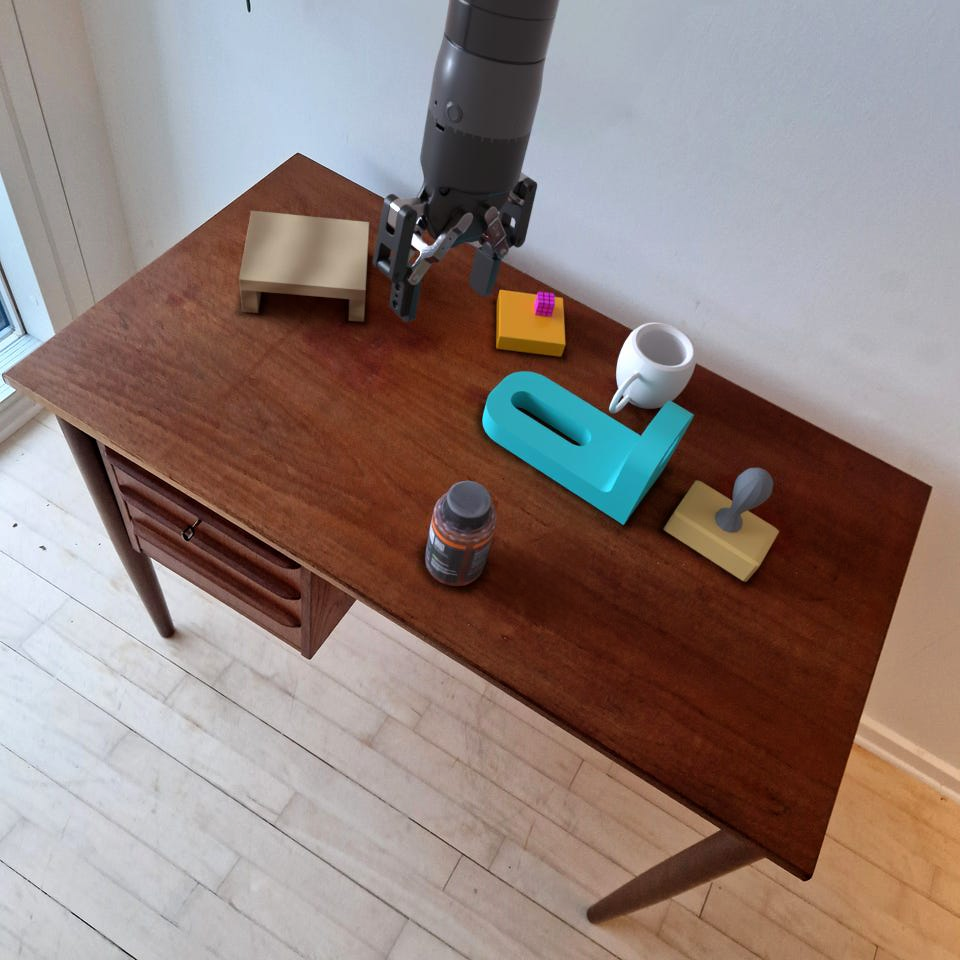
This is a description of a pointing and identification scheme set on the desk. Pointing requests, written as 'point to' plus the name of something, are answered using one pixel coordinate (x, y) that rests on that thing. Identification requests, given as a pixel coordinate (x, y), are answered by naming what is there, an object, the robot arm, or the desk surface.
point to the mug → (653, 366)
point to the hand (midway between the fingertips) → (442, 303)
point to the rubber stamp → (727, 523)
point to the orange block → (530, 323)
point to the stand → (305, 259)
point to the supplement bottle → (460, 534)
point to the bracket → (582, 441)
